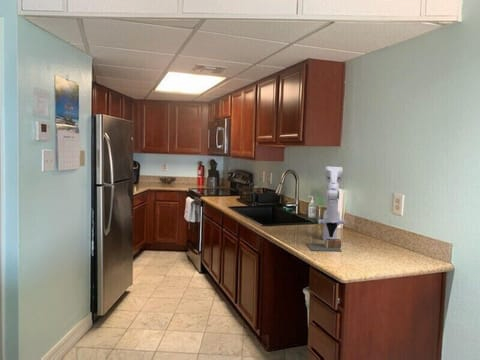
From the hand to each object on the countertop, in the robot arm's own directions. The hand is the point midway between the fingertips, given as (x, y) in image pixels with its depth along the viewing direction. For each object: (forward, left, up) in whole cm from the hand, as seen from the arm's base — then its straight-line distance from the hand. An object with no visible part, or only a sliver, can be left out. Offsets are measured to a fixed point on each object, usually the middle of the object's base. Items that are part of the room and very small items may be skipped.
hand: (330, 236), depth 205 cm
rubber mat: (0, -4, -6) cm, 7 cm away
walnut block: (0, +5, -4) cm, 6 cm away
